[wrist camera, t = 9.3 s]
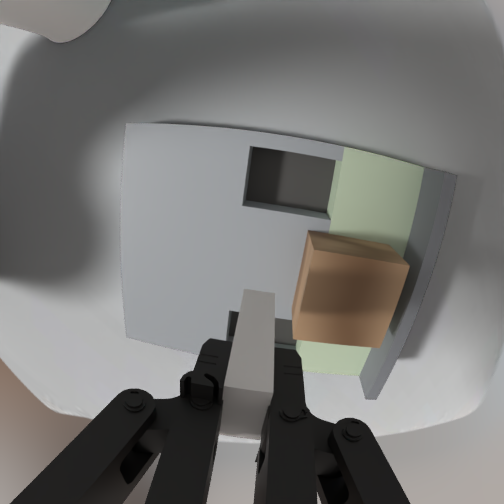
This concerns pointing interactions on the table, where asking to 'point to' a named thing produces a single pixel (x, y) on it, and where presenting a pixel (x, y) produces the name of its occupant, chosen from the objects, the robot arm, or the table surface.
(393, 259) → the block
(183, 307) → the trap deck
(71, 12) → the mug
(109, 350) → the table surface
